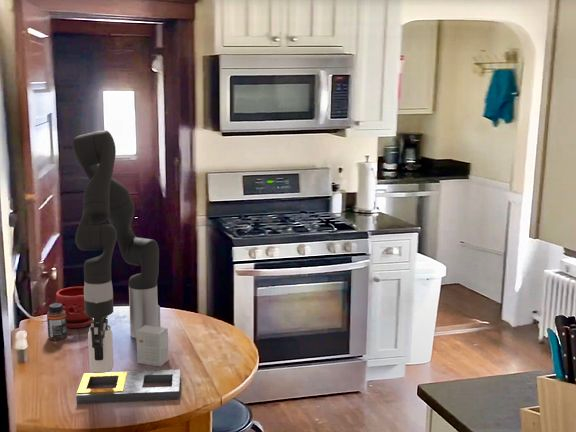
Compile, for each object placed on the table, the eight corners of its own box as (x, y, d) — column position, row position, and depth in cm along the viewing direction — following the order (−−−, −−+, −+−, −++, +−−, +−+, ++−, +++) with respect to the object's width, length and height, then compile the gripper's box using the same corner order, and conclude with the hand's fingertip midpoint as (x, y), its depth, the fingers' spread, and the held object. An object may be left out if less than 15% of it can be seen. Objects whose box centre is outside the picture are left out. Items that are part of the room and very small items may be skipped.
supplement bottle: (50, 334, 236) (48, 302, 233) (68, 333, 236) (67, 301, 234) (46, 341, 230) (44, 308, 228) (64, 340, 230) (63, 307, 228)
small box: (169, 360, 216) (168, 327, 214) (160, 367, 211) (159, 334, 209) (146, 356, 219) (145, 324, 217) (136, 363, 214) (135, 330, 212)
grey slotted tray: (180, 377, 204) (180, 368, 204) (179, 399, 191) (178, 390, 190) (84, 381, 201) (84, 372, 201) (76, 404, 188) (76, 394, 187)
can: (107, 375, 190) (105, 333, 187) (85, 372, 191) (83, 330, 189) (117, 365, 196) (116, 324, 194) (96, 363, 197) (94, 322, 195)
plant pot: (104, 323, 247) (102, 290, 244) (70, 333, 237) (69, 299, 234) (83, 314, 255) (81, 282, 252) (50, 323, 245) (48, 290, 243)
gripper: (88, 288, 196) (90, 345, 199) (79, 305, 182) (82, 366, 185) (116, 288, 197) (117, 344, 200) (109, 305, 183) (111, 365, 186)
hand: (100, 354), depth 193 cm, fingers closed on can, 6 cm apart
